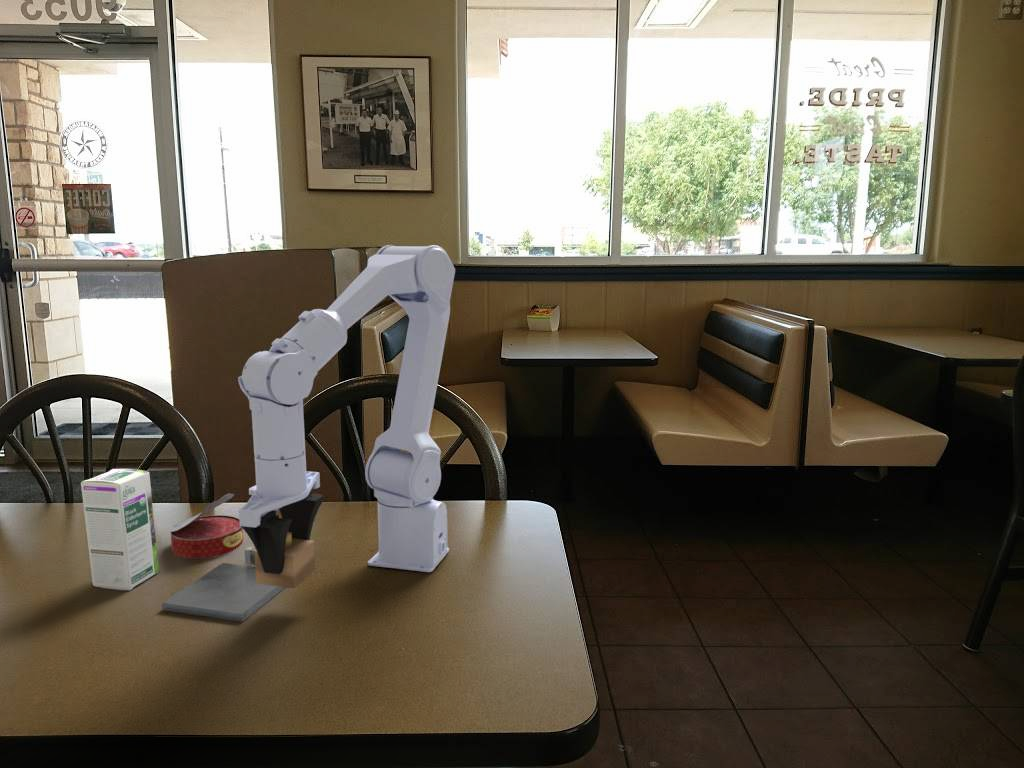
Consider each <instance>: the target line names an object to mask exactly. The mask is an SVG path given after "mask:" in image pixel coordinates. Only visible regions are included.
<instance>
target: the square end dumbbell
mask: <svg viewBox="0 0 1024 768" xmlns="http://www.w3.org/2000/svg"><path fill="white" fill-rule="evenodd" d="M255 551H256V548H255V546H254V547H252V546H248V547H246V548H245V549H244V561H245V564H247V565H254V566H255Z"/></svg>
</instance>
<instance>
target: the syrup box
mask: <svg viewBox="0 0 1024 768" xmlns="http://www.w3.org/2000/svg"><path fill="white" fill-rule="evenodd" d="M150 477H151V475H150V472H149V471H147V470H142V469H135V468H112V469H110V470H109V471H107V472H104V473H101V474H99V475H97V476H94V477H92V478H89V479H85V480H82V481H81V482H80V487H81V497H82V504H83V505H82V506H83V513H84V514H83V515H84V521H85V530H86V538H87V539H86V540H87V547H88V556H89V557H88V558H89V563H90V566H89V567H90V572H91V582H92V583H91V584H92V585H93V587H96V588H102V589H111V590H119V591H131V590H133V589H134V588H135V587H136V586H138V585H140V584H141V583H143V582H145V581H146V580H148V579H149V578H151V577H153V576H154V575H157V574H158V573H159V572H160V567H159V560H158V549H157V548H158V547H157V536H156V528H155V519H154V518H155V514H154V508H153V507H154V506H153V498H152V497H153V496H152V487H151V478H150Z"/></svg>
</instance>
